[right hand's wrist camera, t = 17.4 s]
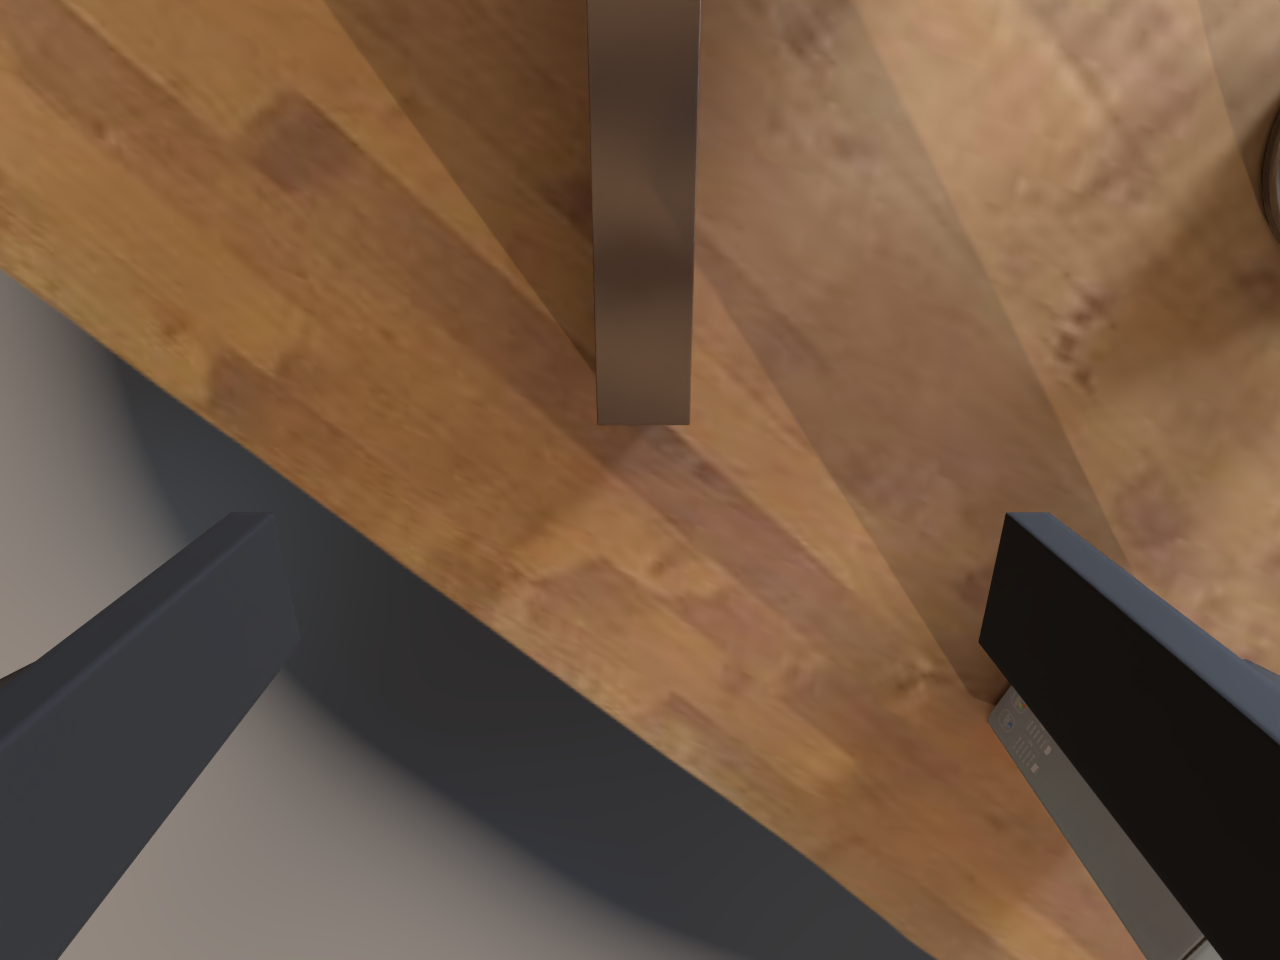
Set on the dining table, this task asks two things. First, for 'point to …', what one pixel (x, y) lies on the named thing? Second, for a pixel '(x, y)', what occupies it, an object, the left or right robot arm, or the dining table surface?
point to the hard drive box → (1098, 839)
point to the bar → (643, 205)
